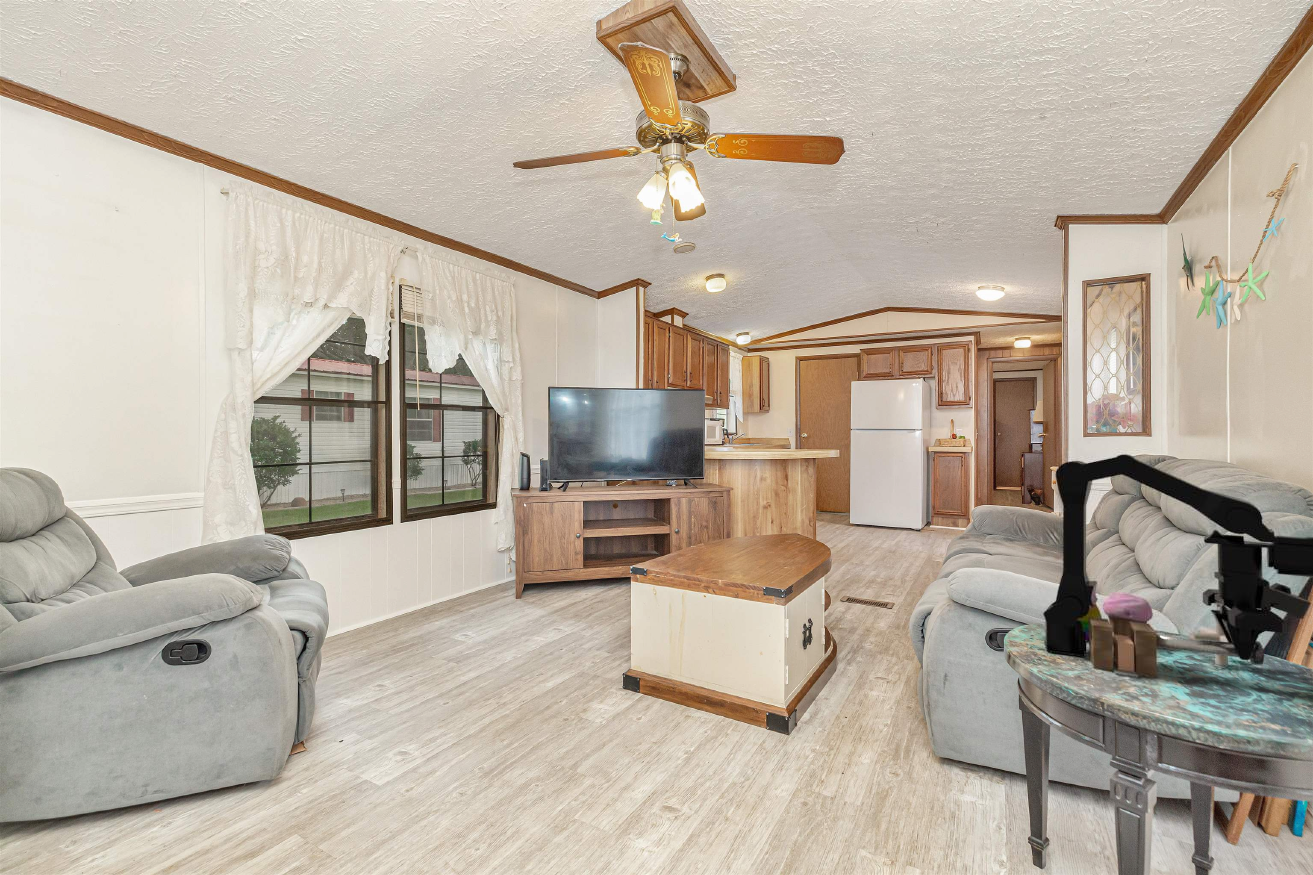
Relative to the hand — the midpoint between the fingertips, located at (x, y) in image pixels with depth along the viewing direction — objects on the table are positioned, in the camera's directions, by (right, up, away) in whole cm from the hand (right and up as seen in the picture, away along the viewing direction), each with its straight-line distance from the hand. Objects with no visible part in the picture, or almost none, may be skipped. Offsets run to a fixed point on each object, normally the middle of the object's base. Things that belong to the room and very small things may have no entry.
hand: (1241, 657), depth 107 cm
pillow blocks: (-15, -5, +8) cm, 18 cm away
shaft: (-5, -1, +3) cm, 6 cm away
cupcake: (-1, -5, +25) cm, 25 cm away
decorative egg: (-10, -6, +26) cm, 29 cm away
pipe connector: (+5, -5, +10) cm, 12 cm away
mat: (-15, -5, +8) cm, 18 cm away
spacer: (-15, -5, +8) cm, 18 cm away
